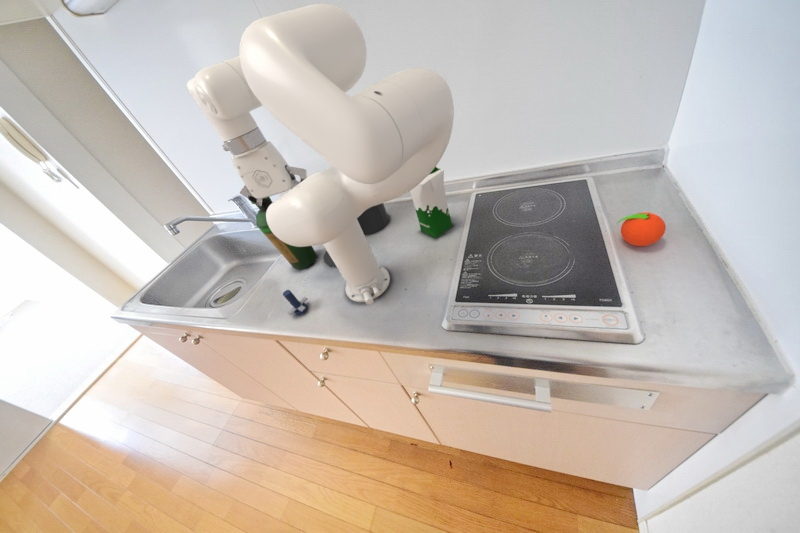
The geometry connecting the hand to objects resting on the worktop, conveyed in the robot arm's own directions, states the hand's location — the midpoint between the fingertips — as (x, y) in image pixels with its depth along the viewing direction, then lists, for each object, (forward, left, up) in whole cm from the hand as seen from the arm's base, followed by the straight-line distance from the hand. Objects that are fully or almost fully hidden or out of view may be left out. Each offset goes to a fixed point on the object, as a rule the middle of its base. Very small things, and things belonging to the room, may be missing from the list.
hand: (291, 210), depth 67 cm
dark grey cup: (+15, -19, -22) cm, 33 cm away
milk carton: (-4, -35, -22) cm, 42 cm away
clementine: (-40, -65, -22) cm, 80 cm away
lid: (+6, -6, -22) cm, 23 cm away
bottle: (+12, +7, -22) cm, 26 cm away
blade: (-10, +11, -22) cm, 27 cm away
